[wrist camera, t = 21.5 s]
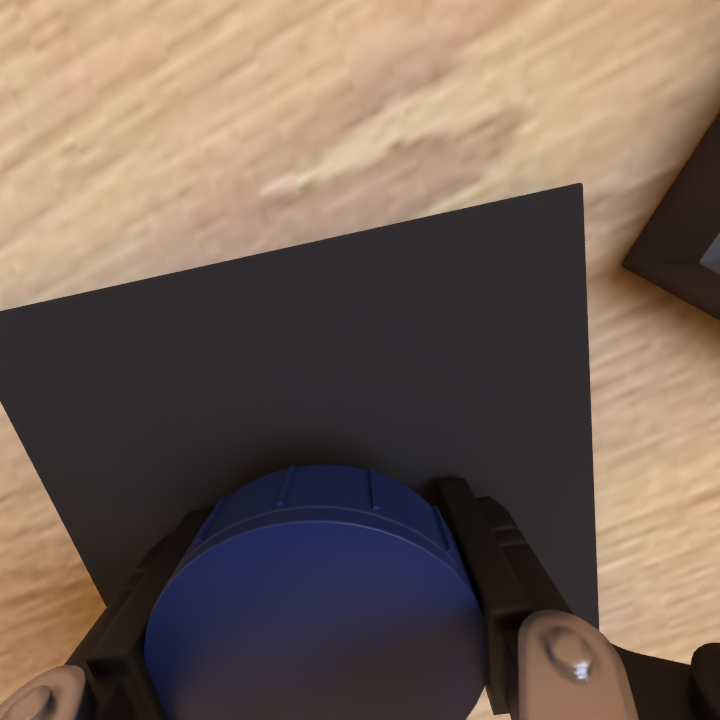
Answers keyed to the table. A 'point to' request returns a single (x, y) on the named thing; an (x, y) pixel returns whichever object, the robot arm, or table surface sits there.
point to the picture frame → (687, 232)
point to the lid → (319, 607)
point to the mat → (324, 381)
